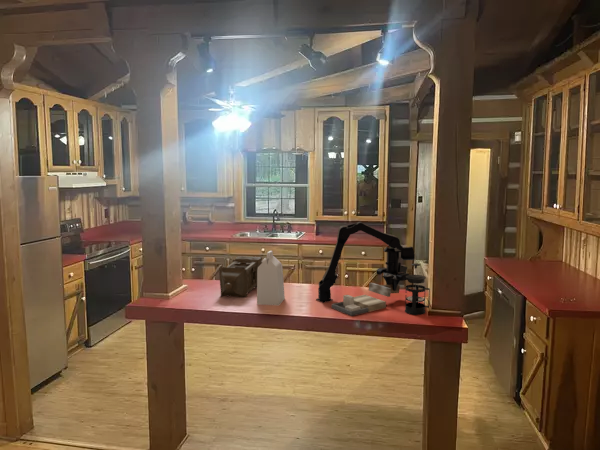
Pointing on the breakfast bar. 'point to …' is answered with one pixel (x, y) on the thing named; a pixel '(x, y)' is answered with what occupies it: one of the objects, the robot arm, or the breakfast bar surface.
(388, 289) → the scraper
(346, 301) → the tile
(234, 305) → the breakfast bar surface
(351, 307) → the tile
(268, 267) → the milk
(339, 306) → the box
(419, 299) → the french press
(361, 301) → the deck
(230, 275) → the ornamental box
